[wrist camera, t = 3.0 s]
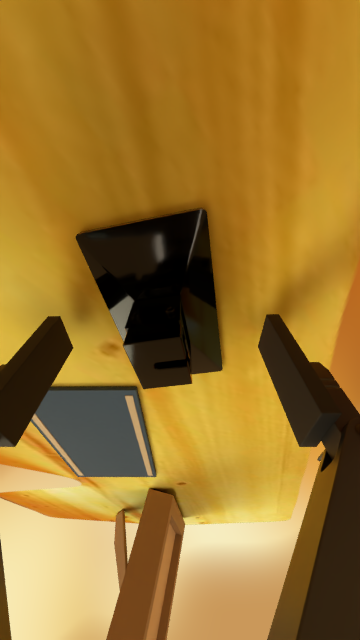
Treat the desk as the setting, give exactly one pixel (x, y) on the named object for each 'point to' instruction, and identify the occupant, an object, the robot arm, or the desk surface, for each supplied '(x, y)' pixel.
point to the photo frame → (147, 570)
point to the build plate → (159, 294)
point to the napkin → (97, 430)
